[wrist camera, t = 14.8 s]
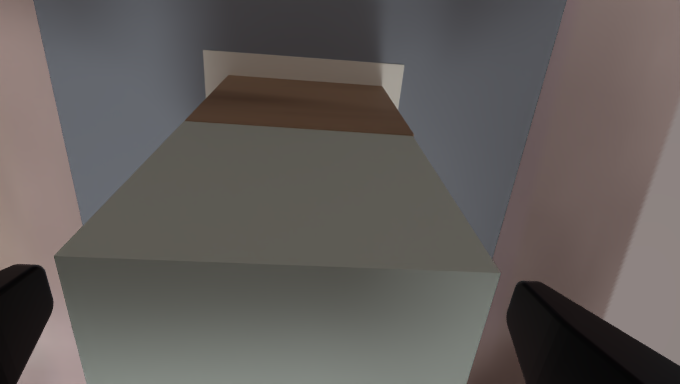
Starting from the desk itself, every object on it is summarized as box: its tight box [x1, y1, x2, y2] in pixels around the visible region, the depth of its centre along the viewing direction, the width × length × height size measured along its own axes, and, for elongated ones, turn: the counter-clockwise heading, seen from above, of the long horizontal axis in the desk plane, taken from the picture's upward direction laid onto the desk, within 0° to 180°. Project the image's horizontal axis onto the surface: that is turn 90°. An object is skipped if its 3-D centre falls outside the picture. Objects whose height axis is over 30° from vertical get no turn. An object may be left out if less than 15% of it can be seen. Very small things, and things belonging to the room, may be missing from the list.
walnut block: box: [185, 75, 414, 137], centre depth 13 cm, size 5×5×5 cm
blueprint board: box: [33, 0, 567, 259], centre depth 15 cm, size 13×16×1 cm
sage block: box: [54, 121, 501, 384], centre depth 8 cm, size 5×5×5 cm
